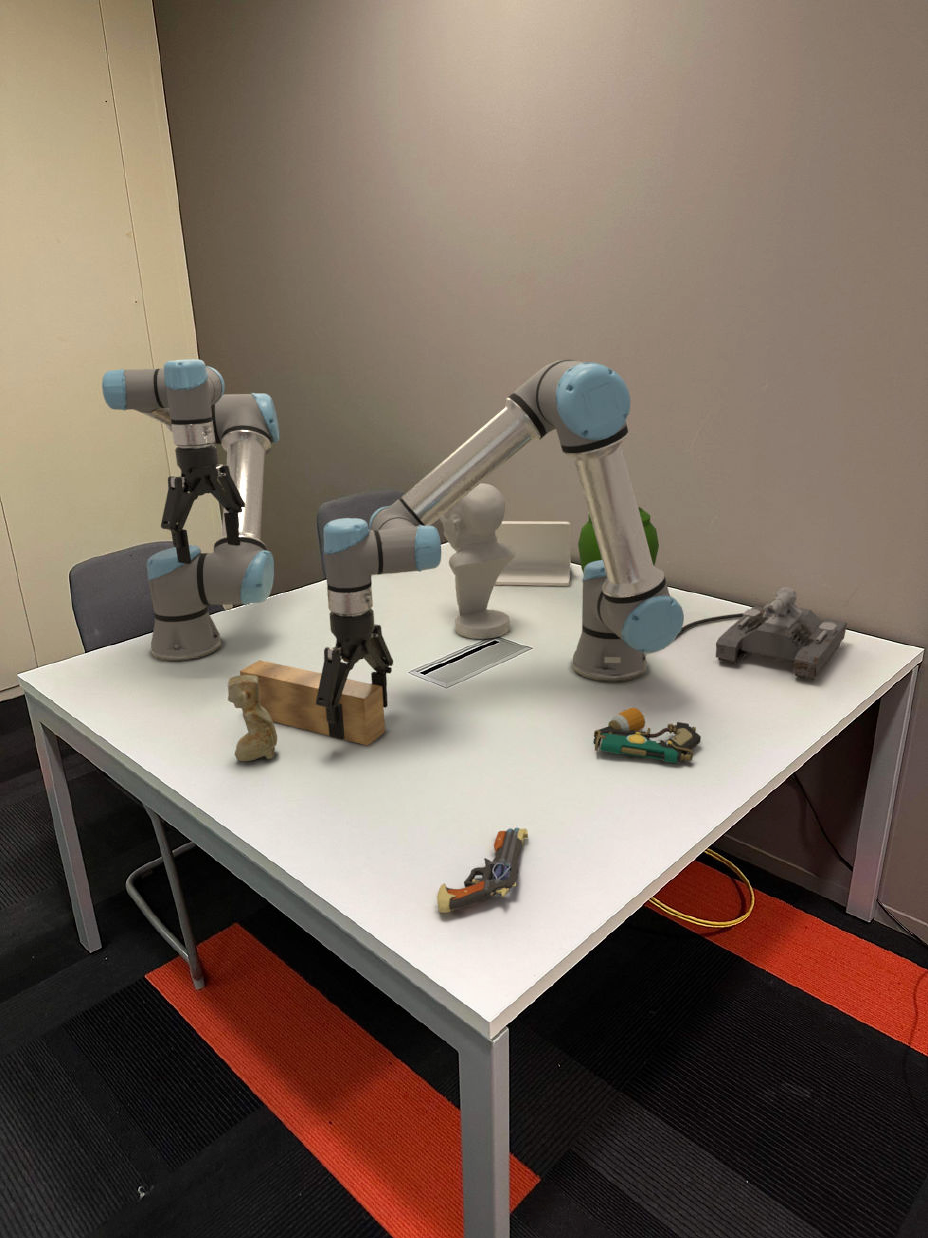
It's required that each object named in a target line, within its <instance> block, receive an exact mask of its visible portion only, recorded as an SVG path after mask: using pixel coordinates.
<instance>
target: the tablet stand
mask: <svg viewBox="0 0 928 1238" xmlns="http://www.w3.org/2000/svg"><path fill="white" fill-rule="evenodd" d="M495 535H496V537H497V542H498V543H499V544H506V545H509V546H510V547H511V548H512V549H513V551H514V553H515V555H516V556H515V557H514V558H513V559H512V560H511V561H510V562H509V563H508V564H507V565H506V566H505V567H504V568H503V570H502V571H501V573H500V575H499V576H498V579H497V581H496V583H495V585H494V586H541V587H542V586H543V587H544V586H545V587H546V586H547V587H549V586H551V587H556V586H557V587H569V586H570V580H571V579H570V578H571V565H572V564H571V560H572V558H571V522H569V521H537V520H536V521H529V520H528V521H525V520H524V521H523V520H522V521H521V520H520V521H519V520H517V521H516V520H515V521H514V520H510V521H509V520H505V521H504V520H503V521H502V523H501V525H500V527H499V528H498V529H497V530H496V531H495Z"/></svg>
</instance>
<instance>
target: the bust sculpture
mask: <svg viewBox="0 0 928 1238" xmlns="http://www.w3.org/2000/svg"><path fill="white" fill-rule="evenodd" d="M503 496H504V495H502V493H501V491H500V490H499V489H498V488H497V487H495V486H494V485H492V484H489V483H483V482H481V483H480V484H479V485H478V486H477V487H475V488H474V489H473V490H472V491H471V492H470V493H468V494H467V495H466V496H465V497H464V498H463V499H461V500H460V501H459V502H458V503H457V504H455V505H454V506H453V507H452V508H451V509H450V510H448V511H447V512H446V513H445V514H444V515H443V516H441V517H440V518H439V521H440V523H442V526H443V536H444V537H445V538H446V541H447V543H448V544H449V545H450V546H451V548H452V549H453V550H454V551H455V553H452V555H451V556H450V557H449V559H448V566H449V568H450V569H451V572H452V573H453V575H454V577H455V578H454V582H455V583H454V584H455V594H456V595H455V596H456V604H457V607H458V615H456V617H455V621H454V622H455V632H456V633H457V634H458V635H460V636H462V637H465V638H469V639H474V640H475V639H476V640H477V639H478V640H486V639H493V638H498V637H502V636H504V635H505V634H507V633H508V632H509V631H510V616H509V615H508V614H507V613H505V612H503V611H500V610H495V609H487V608H488V605H489V601H490V598H491V595H492V592H493V589H494V587H495V586H496V585H495V583H496V581H497V579H498V576H499V575H500V573H501V571H502V570H503V568H504V567H505V566H506V565H507V564H508V563H509V562H510V561H511V560H512V559H513V558H514V557H515V556H516V555H515V553H514V551H513V549H512V548H511V547H510V546H509V545H506V544H499V543H498V542H497V537H496V535H495V531H496V530H497V529H498V528H499V527H500V525H501V523H502V521H504V517H505V513H506V501H505V498H504V497H503Z"/></svg>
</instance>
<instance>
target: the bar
mask: <svg viewBox="0 0 928 1238" xmlns="http://www.w3.org/2000/svg"><path fill="white" fill-rule="evenodd" d="M321 674H322V672H317V671H312V670H308V669H303V668H298V667H293V666H289V665H286V664H285V665H284V664H280V663H274V662H271V661H265V660H261V659H259V660H257V661H255V662H253V663H251V664H250V665H248V666H246V667H244V668H242V669H240V670H239V676H242V675H255V676H257V677H258V686H259V702H260V705H261V706H262V707H264V708H265V709H266V710H267V711H268V713H269V714H270V716H271V718H272V721H273V723H277V724H280V725H286V726H289V727H292V728H297V729H301V730H305V731H309V732H312V733H316V734H321V735H324V736H327V737H329V727H328V722H327V718H326V707H323V706H319V705H317V704H316V699H317V694H318V689H319V684H320V679H321ZM333 699H334V697H333ZM339 704H342V712H343V724H344V736H345V738H344V739H343V741H348V742H353V743H355V744H360V745H364V746H370V745H371V744H372V743H374V741H376V740H377V739H378V738H380V737H381V736H382V735H383V734H385V733H386V725H385V724H386V723H385V710H384V707H383V693H382V686H378V685H373V684H372V683H368V682H363V681H358V680H356V679H355V680H354V679H350V678H347V680H346V683H345V686H344V689H343V692H342V695H341V697H340V700H339Z"/></svg>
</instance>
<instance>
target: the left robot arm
mask: <svg viewBox="0 0 928 1238" xmlns="http://www.w3.org/2000/svg"><path fill="white" fill-rule="evenodd" d="M225 388H226V384H225V380H224V378H223V376H222V374H221V373H220V372H219V371H218V370H217V369H215V368H214V367H212V366H208V365H206V363H205V362H204V360H202V359H195V358H192V359H191V358H189V359H188V358H187V359H174V360H167V361H165V363H164V364H163V368H141V369H140V368H139V369H137V368H135V369H132V368H131V369H125V368H120V369H114V370H107V371H106V372H105V373H104V374H103V376H102V381H101V389H102V395H103V398H104V401H105V403H106V405H107V407H108V408H109V409H111V410H114V411H115V410H117V411H129V410H134V411H136V412H139V413H141V414H143V415H145V416H148V417H150V418H151V419H154V420H156V421H157V422H160V423H162V424H164V425H165V426H166V428H167V429H168V430H169V431H170V432H172V439H173V444H174V446H177V447H176V448H175V449H174V451H175V452H174V453H175V459H176V465H177V467H178V468H179V469H180V476H171V475H169V476H168V477H167V488H168V489H167V493H166V498H165V503H164V508H163V513H162V518H161V522H160V528H161V529H163V530H168V531H170V534H171V539H172V545H173V547H170V548H166V549H164V550H161V551H158V552H156V553H154V554H153V555H151V556H149V558H148V559H147V561H146V572H147V578H146V579H147V581H148V586H149V591H150V598H151V603H152V609H153V615H154V626H153V631H152V636H151V642H150V650H151V654H152V656H153V657H154V658H156V659H158V660H162V661H169V662H181V661H190V660H195V659H200V658H203V657H206V656H208V655H211V654H213V653H215V652H216V651H218V650H219V649H220V648H221V646H222V638H221V634H220V632H219V630H218V628H217V626H216V624H215V622H214V621H213V619H212V616H211V615H210V612H209V606H226V605H227V606H229V605H231V606H232V605H244V606H245V605H246V606H247V605H250V604H261V603H263V602H265V601H266V600H267V599H268V598H269V596H270V595H271V593H272V590H273V585H274V579H275V570H274V569H275V562H274V556H273V553H272V552H271V551H269V550H268V546H267V545H266V543H265V542H263V540H262V539H261V538H262V537H261V536H262V517H263V516H262V515H263V513H262V512H263V498H264V496H263V495H264V477H265V476H264V475H265V474H264V473H265V457H266V456H267V455H268V454H269V453H270V452H271V451H272V443H273V444H275V443H278V442H279V441H280V428H279V422H278V416H277V411H276V408H275V403H274V401H273V398H272V397H271V396H270V395H269V394H268V393H255V392H251V393H233V394H231V393H229V394H226V393H225ZM224 393H225V394H224ZM216 445H221V447H222V449H223V450H224V451H225V452H226V464H219V458H218V450H217V446H216ZM205 494H211V495H212V496H213V497H214V498H215V499H216V501H217V502H218V503H219V504H220V505H221V506H222V507H223V510H222V511H223V512H222V525H221V527H222V528H221V529H222V530H221V537H220V538H218V539H217V540H215V542H214V544H213V552H204V553H203V552H202V551H201V549H200V547H199V546H198V545H193V544H190V543H189V537H188V536H189V535H188V530H187V529H184V527H185V525H186V522H187V520H188V517H189V514H190V512H191V510H192V507H193V505H194V503H195V501H196V500H197V499H198V498H199V497H201V496H204V495H205Z"/></svg>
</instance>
